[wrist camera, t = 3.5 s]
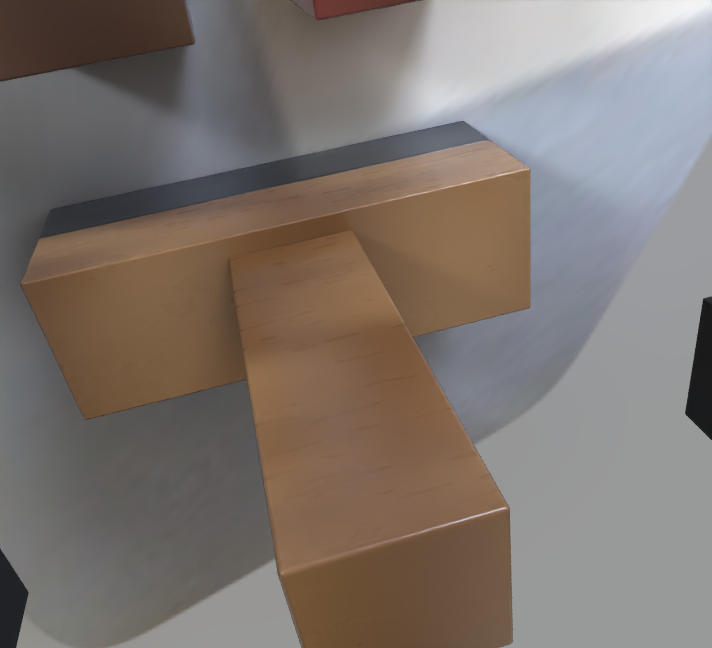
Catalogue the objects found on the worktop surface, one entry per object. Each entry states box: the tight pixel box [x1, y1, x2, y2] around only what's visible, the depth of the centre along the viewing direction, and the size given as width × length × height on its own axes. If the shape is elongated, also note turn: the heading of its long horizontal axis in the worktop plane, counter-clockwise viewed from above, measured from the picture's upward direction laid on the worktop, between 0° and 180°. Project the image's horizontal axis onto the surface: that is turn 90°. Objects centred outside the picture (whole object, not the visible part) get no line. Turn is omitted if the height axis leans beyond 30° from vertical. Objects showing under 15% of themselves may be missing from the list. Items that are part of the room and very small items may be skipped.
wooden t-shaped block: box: [21, 121, 530, 648], centre depth 15 cm, size 12×4×14 cm, turn 99°
